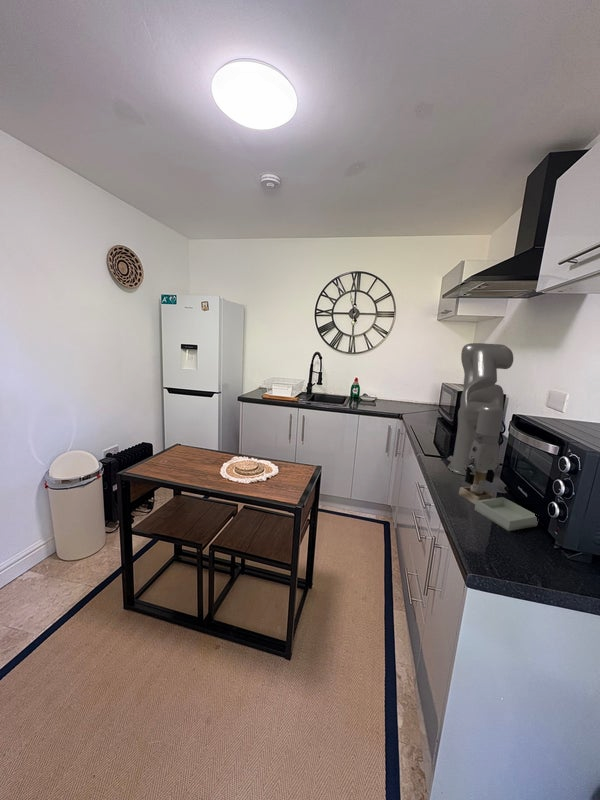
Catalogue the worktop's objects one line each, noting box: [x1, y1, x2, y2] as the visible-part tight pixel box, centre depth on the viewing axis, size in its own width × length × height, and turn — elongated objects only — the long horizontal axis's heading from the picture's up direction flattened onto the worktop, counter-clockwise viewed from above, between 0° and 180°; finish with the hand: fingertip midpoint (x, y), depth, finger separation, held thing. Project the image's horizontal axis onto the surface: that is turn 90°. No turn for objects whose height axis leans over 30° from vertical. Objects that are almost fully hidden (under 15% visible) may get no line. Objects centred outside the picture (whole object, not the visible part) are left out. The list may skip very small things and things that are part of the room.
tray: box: [474, 496, 539, 532], centre depth 107 cm, size 13×13×4 cm
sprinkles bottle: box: [470, 470, 488, 496], centre depth 118 cm, size 5×5×13 cm
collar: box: [458, 485, 495, 505], centre depth 119 cm, size 8×8×3 cm
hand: (478, 482), depth 117 cm, fingers open, 9 cm apart
